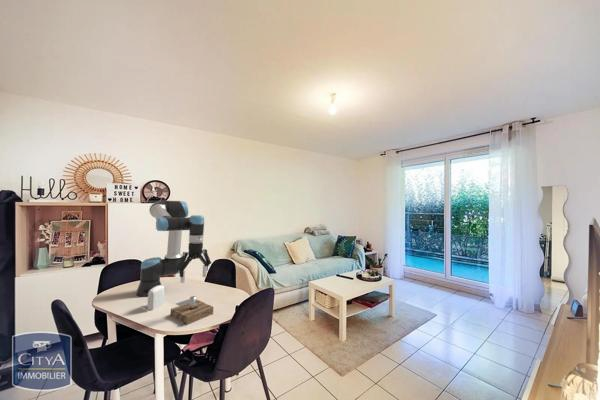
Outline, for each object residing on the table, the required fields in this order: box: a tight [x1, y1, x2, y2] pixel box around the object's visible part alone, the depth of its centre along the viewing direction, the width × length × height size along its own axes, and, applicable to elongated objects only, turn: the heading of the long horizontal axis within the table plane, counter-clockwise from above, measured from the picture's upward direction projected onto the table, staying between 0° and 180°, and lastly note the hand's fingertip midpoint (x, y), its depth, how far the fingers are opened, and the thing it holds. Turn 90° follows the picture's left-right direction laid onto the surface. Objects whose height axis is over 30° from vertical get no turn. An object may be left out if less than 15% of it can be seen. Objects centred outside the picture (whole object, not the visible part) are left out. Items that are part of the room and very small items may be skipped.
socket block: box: [169, 299, 214, 325], centre depth 133 cm, size 16×16×4 cm
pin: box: [189, 295, 197, 310], centre depth 133 cm, size 3×3×10 cm
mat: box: [175, 298, 205, 306], centre depth 148 cm, size 12×12×1 cm
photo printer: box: [146, 284, 165, 311], centre depth 142 cm, size 10×4×12 cm, turn 172°
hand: (193, 279), depth 134 cm, fingers open, 13 cm apart
